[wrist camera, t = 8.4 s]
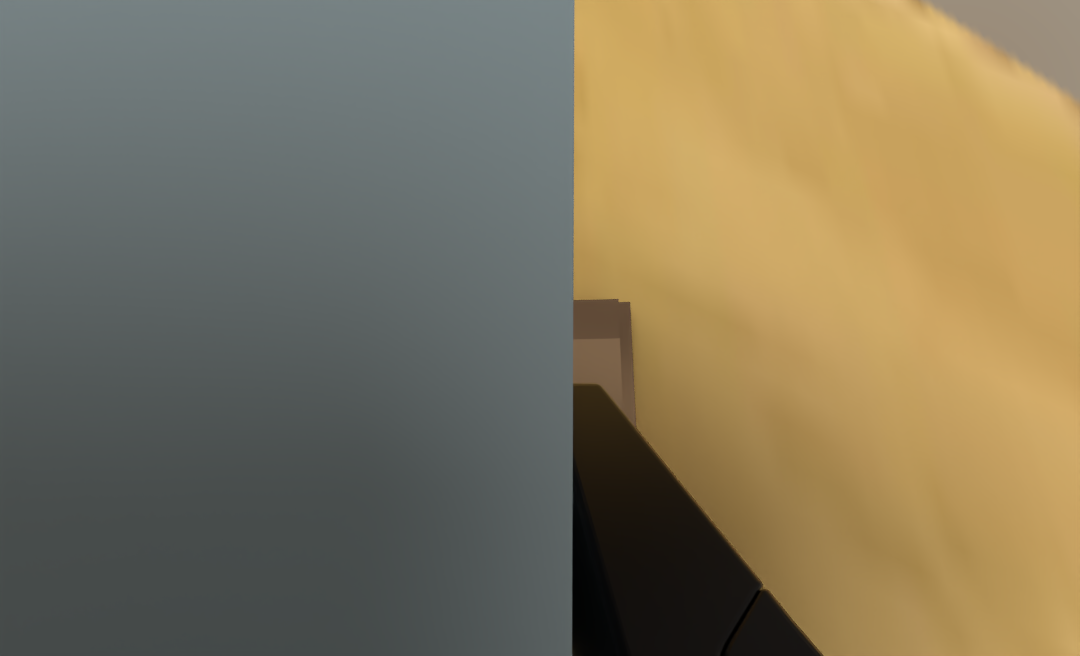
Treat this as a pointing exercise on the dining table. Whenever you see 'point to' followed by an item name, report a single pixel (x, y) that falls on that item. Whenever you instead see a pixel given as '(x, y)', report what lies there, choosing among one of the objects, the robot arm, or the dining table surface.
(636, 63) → the dining table surface
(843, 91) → the dining table surface
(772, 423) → the dining table surface
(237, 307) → the grey rectangular block
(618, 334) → the stand
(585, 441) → the robot arm
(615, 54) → the dining table surface
